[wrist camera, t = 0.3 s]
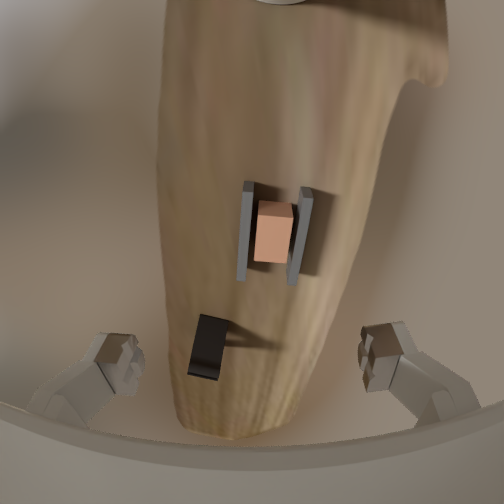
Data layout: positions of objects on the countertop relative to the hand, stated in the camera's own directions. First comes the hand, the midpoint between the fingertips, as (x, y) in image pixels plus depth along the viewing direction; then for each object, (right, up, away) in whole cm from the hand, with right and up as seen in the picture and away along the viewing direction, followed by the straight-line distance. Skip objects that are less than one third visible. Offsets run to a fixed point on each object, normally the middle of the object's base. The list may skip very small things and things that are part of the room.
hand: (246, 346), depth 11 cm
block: (+3, +8, +40) cm, 41 cm away
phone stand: (-9, -13, +56) cm, 58 cm away
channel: (+3, +7, +41) cm, 41 cm away
